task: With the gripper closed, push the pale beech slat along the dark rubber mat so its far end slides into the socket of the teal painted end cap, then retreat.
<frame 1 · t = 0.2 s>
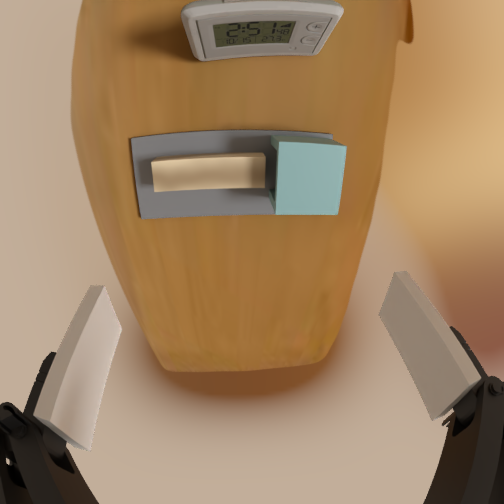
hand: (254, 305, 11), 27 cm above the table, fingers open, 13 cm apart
digital clock: (256, 38, 26), on the table
mat: (232, 173, 36), on the table
end cap: (298, 167, 35), resting on mat
slat: (209, 167, 34), point 1 cm above the table, touching mat
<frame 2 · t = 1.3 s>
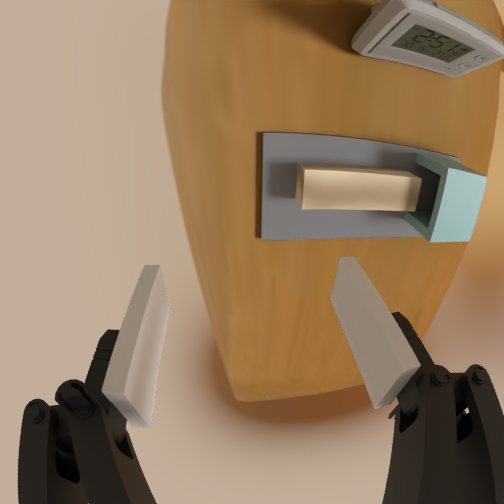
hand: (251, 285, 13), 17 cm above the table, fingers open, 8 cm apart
digital clock: (405, 44, 20), on the table
mat: (374, 190, 29), on the table
end cap: (432, 189, 29), resting on mat
slat: (356, 182, 28), point 1 cm above the table, touching mat
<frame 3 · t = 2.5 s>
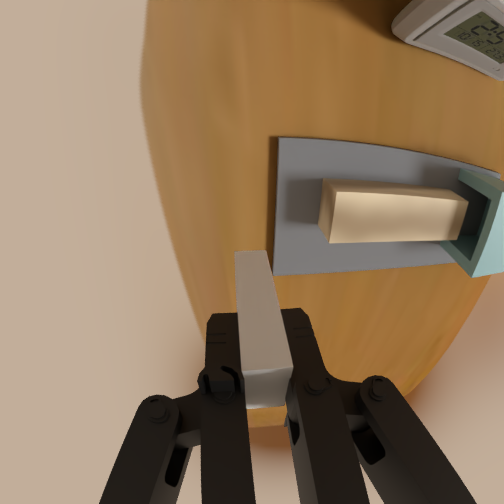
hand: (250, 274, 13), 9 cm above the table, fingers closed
digital clock: (449, 36, 13), on the table
mat: (411, 212, 22), on the table
end cap: (471, 210, 22), resting on mat
slat: (393, 204, 21), point 1 cm above the table, touching mat
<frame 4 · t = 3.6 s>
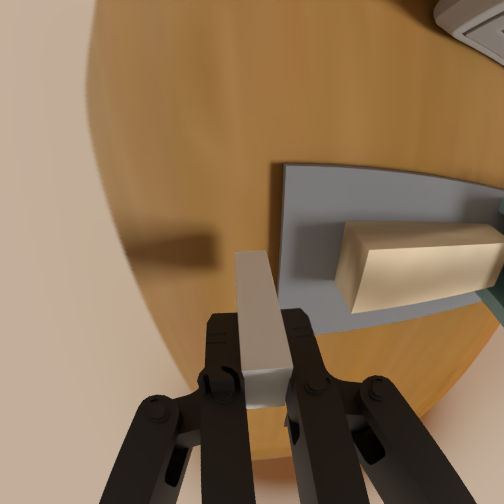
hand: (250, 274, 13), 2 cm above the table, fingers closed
digital clock: (491, 35, 8), on the table
mat: (446, 254, 17), on the table
slat: (428, 248, 16), point 1 cm above the table, touching mat
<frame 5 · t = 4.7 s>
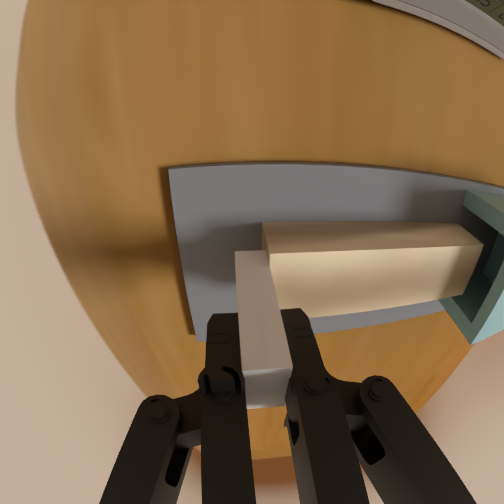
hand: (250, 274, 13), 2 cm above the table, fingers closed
digital clock: (443, 1, 7), on the table
mat: (393, 256, 16), on the table
end cap: (479, 243, 16), resting on mat
slat: (374, 250, 15), point 1 cm above the table, touching gripper
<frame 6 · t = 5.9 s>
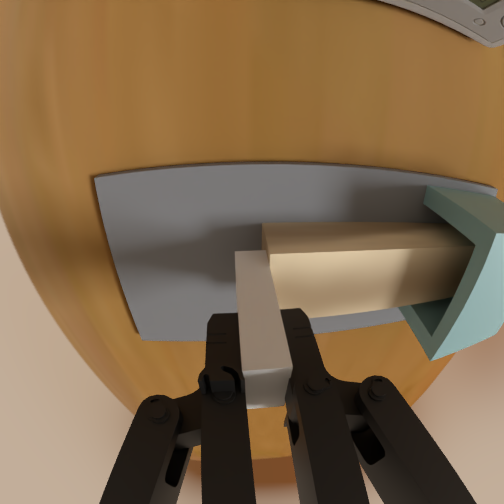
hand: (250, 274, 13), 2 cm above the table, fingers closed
mat: (339, 260, 16), on the table
end cap: (449, 246, 16), resting on mat
slat: (374, 251, 15), point 1 cm above the table, touching gripper, mat
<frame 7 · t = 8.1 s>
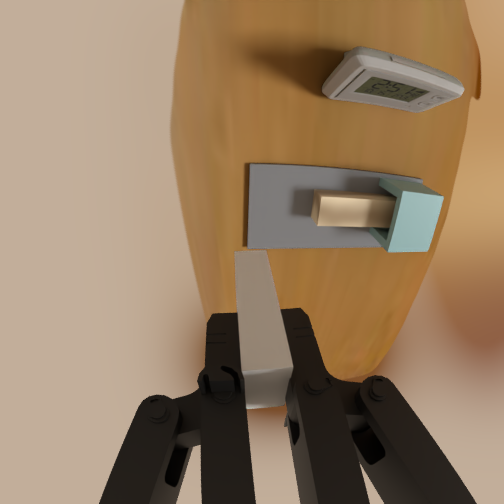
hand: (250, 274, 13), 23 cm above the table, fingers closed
digital clock: (372, 85, 28), on the table
mat: (342, 209, 37), on the table
end cap: (395, 207, 37), resting on mat
slat: (357, 205, 36), point 1 cm above the table, touching mat
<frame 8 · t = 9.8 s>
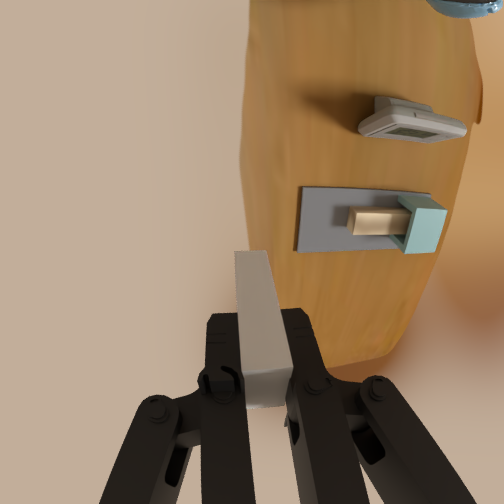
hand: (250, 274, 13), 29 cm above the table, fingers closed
digital clock: (394, 122, 37), on the table
mat: (369, 220, 46), on the table
end cap: (409, 217, 45), resting on mat
slat: (381, 217, 45), point 1 cm above the table, touching mat
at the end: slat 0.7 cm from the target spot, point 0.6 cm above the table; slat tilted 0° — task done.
